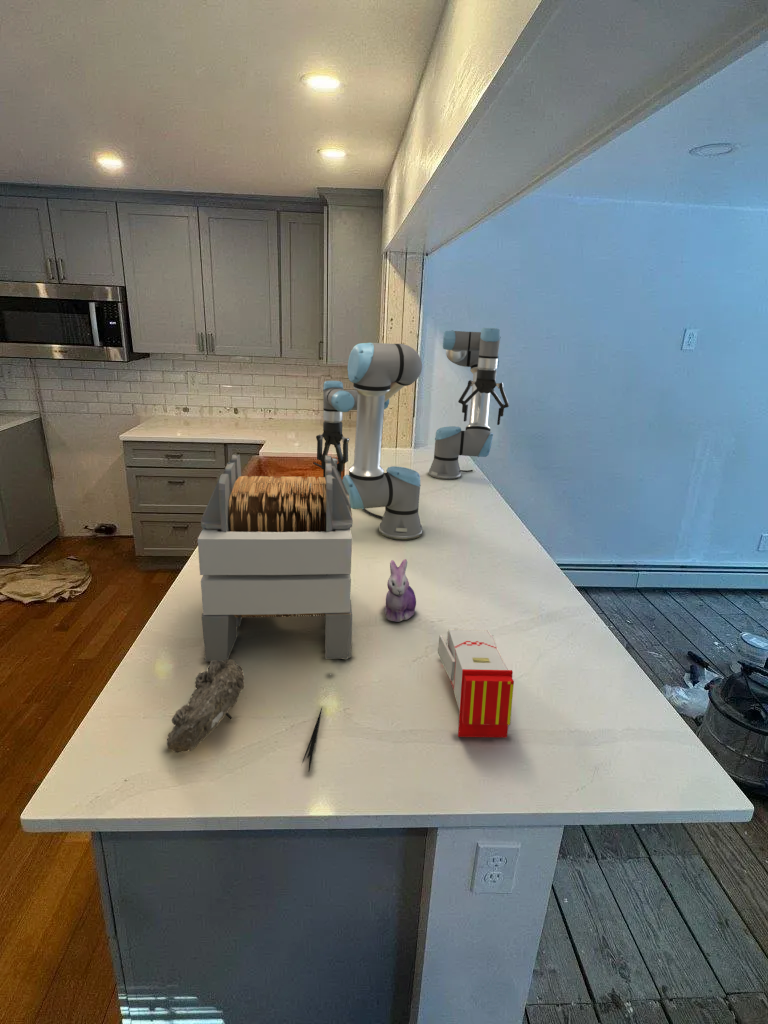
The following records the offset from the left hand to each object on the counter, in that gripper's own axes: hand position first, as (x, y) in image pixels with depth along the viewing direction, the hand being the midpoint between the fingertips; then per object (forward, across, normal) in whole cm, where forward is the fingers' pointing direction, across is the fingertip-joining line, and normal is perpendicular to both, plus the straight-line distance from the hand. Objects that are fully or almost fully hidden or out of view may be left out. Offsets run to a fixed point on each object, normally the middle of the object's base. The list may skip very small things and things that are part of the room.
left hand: (332, 477), depth 230 cm
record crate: (+9, -28, +94) cm, 98 cm away
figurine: (+9, -54, +78) cm, 95 cm away
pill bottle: (+1, 0, 0) cm, 1 cm away
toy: (+9, -77, +103) cm, 129 cm away
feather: (+9, -52, +122) cm, 133 cm away
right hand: (-24, -54, -27) cm, 65 cm away
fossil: (+9, -32, +129) cm, 134 cm away
